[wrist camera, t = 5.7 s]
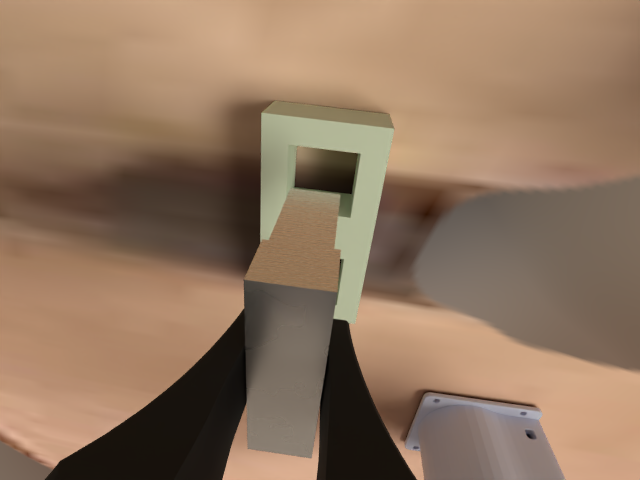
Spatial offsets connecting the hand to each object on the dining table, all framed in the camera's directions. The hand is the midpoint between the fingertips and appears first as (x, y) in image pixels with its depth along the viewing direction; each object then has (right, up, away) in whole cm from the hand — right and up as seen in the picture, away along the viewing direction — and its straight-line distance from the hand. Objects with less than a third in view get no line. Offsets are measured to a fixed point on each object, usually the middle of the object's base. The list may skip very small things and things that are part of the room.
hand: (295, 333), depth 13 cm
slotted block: (+1, +5, +9) cm, 10 cm away
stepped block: (0, +2, +3) cm, 4 cm away
